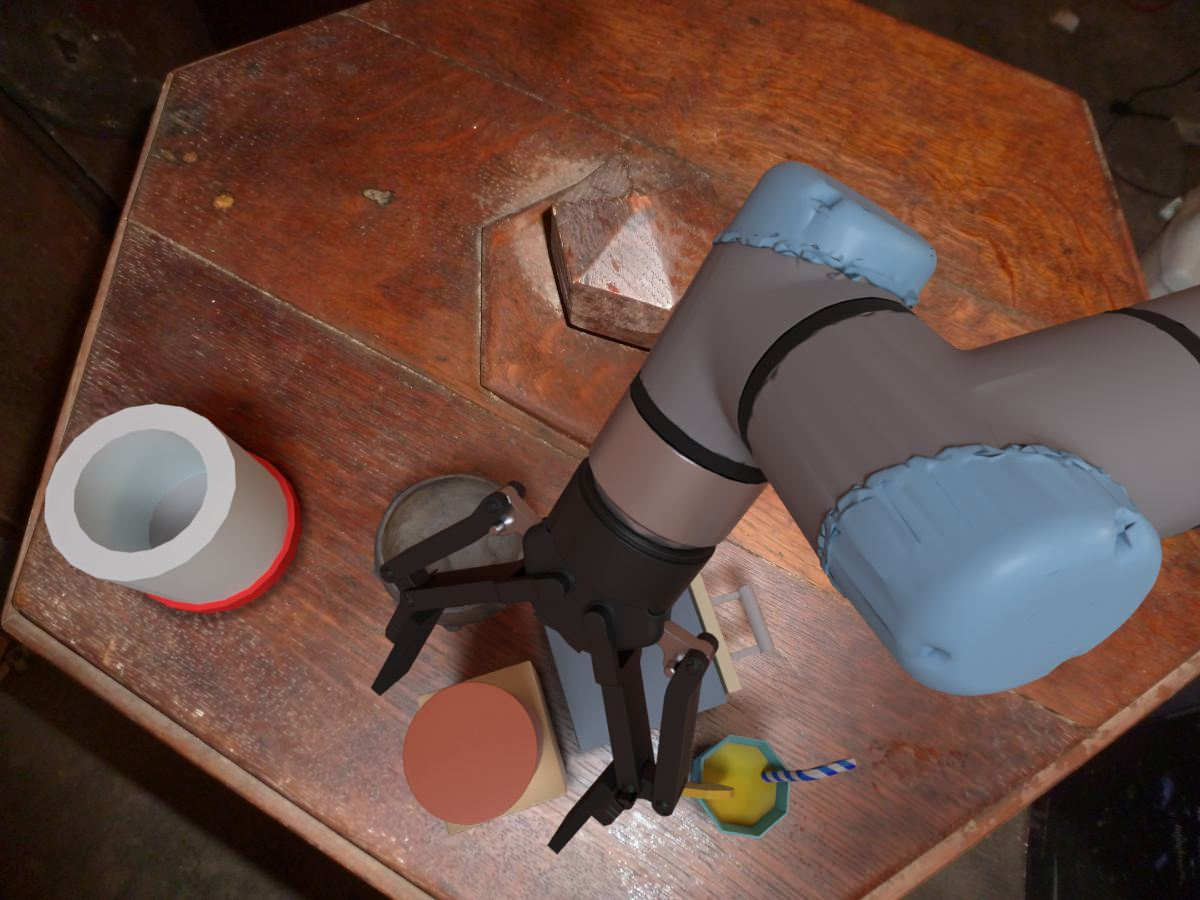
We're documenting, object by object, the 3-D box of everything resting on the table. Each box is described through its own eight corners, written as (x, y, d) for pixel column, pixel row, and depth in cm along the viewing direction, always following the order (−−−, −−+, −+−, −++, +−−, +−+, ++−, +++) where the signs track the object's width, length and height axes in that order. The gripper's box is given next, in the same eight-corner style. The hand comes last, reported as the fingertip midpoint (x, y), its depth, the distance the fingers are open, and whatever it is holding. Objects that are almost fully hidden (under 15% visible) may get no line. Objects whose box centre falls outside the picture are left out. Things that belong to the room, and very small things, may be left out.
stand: (566, 774, 70) (567, 794, 51) (480, 804, 69) (448, 836, 50) (538, 675, 72) (529, 659, 54) (455, 702, 71) (416, 696, 52)
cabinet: (666, 586, 76) (680, 567, 67) (707, 704, 72) (728, 702, 63) (543, 625, 74) (540, 612, 65) (579, 748, 71) (581, 753, 61)
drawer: (731, 570, 76) (749, 554, 68) (770, 676, 72) (794, 671, 65) (573, 621, 73) (574, 610, 66) (606, 732, 70) (611, 733, 63)
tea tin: (556, 779, 51) (554, 797, 40) (453, 817, 50) (421, 845, 39) (526, 675, 53) (516, 663, 42) (426, 709, 52) (388, 706, 41)
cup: (787, 711, 72) (841, 708, 58) (813, 799, 70) (877, 818, 56) (643, 749, 71) (663, 756, 57) (665, 840, 68) (692, 871, 54)
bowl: (565, 592, 75) (565, 573, 66) (416, 663, 72) (393, 655, 63) (507, 468, 79) (499, 434, 70) (363, 531, 76) (335, 505, 67)
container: (147, 455, 78) (57, 398, 64) (309, 452, 79) (254, 395, 65) (120, 616, 73) (15, 592, 59) (293, 611, 73) (230, 587, 60)
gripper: (888, 629, 37) (663, 852, 47) (493, 330, 41) (363, 593, 51) (872, 721, 30) (614, 958, 40) (405, 356, 35) (276, 651, 45)
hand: (473, 754), depth 46 cm, fingers open, 13 cm apart
